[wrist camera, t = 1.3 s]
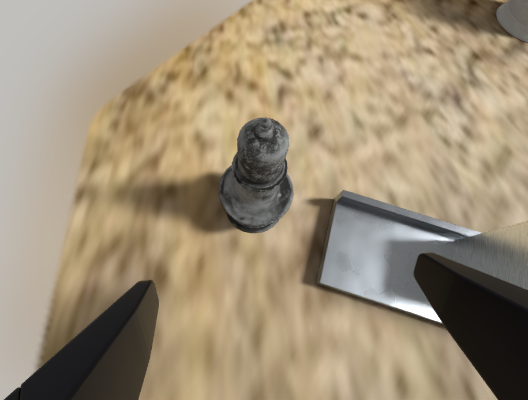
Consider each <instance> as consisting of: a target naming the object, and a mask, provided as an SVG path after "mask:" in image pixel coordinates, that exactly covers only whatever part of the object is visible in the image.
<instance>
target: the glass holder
mask: <svg viewBox="0 0 528 400" xmlns="http://www.w3.org/2000/svg"><path fill="white" fill-rule="evenodd" d="M496 17H497V20H498V22H499V23H500V25H501V26H502V27H503V28H504V29H505V30H506V31H507V32H508V33H510V34H511V35H512V36H514V37H516V38H518V39H520V40H522V41H524V42H527V43H528V0H509V1H508V2H506V3H504V4H502V5H501V6H500V7H499V8H498V9H497V12H496Z"/></svg>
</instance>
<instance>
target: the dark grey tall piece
mask: <svg viewBox="0 0 528 400" xmlns="http://www.w3.org/2000/svg"><path fill="white" fill-rule="evenodd" d="M237 146H238V152H237V153H236V155H235V156H234V159H233V162H232V165H231V166H230V167H229V168H228V169H227V170H226V171H225V173H224V174H223V176H222V178H221V181H220V184H219V197H220V200H221V204H222V206H223V207H224V209H225V210H226V213H227V216H228V218H229V219H230V221H231V223H232V224H234V225H235V226H236V227H237V228H239V229H240V230H242V231H245V232H249V233H261V232H264V231H267V230H269V229H270V228H272V227H273V226H274V225H275V224H276V223H277V222H278V221H279V219H280V218H281V217H282V216H283V215H284V214H285V213H286V212H287V211H288V209H289V207H290V205H291V203H292V199H293V184H292V182H291V179H290V177H289V175H288V174H287V161H286V159H285V157H286V154H287V151H288V147H289V137H288V133H287V131H286V129H285V128H284V127H283V126H282V125H281V124H280V123H279V122H277V121H275V120H273V119H270V118H257V119H254V120H251V121H249V122H248V123H246V124H245V125H244V126H243V127H242V129H241V130H240V133H239V136H238V139H237Z"/></svg>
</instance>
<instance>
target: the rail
mask: <svg viewBox="0 0 528 400" xmlns="http://www.w3.org/2000/svg"><path fill="white" fill-rule="evenodd" d="M428 252H432V253H435V254H438V255H440V256H443V257H445V258H448V259H451V260H453V261H456V262H458V263H461V264H463V265H466V266H468V267H471V268H473V269H476V270H479V271H481V272H484V273H486V274H489V275H491V276H494V277H496V278H499V279H501V280H504V281H506V282H509V283H512V284H514V285H517V286H519V287H522V288H524V289H527V290H528V221H526V222H522V223H518V224H514V225H511V226H507V227H503V228H499V229H496V230H492V231H488V232H485V233H480V232H477V231H473V230H470V229H467V228H464V227H461V226H457V225H454V224H451V223H448V222H445V221H441V220H438V219H435V218H432V217H429V216H425V215H422V214H419V213H416V212H413V211H409V210H406V209H403V208H400V207H396V206H393V205H390V204H387V203H384V202H380V201H377V200H374V199H371V198H368V197H364V196H361V195H358V194H355V193H352V192H348V191H345V190H343V191H342V192H341V193H340V194H338V195H337V196H336V198H335V199H334V202H333V206H332V211H331V216H330V220H329V225H328V230H327V234H326V239H325V244H324V248H323V253H322V258H321V262H320V267H319V272H318V276H317V281H316V284H319V285H322V286H325V287H328V288H331V289H334V290H337V291H340V292H344V293H347V294H350V295H353V296H356V297H359V298H362V299H365V300H368V301H371V302H374V303H377V304H381V305H384V306H387V307H390V308H393V309H396V310H399V311H402V312H405V313H408V314H411V315H414V316H417V317H421V318H424V319H427V320H430V321H433V322H436V323H439V324H442V322H441V321H440V319H439V318H438V316H437V315H436V313H435V311H434V310H433V308H432V306H431V305H430V303H429V301H428V300H427V298H426V296H425V295H424V293H423V291H422V290H421V288H420V287H419V285H418V283H417V282H416V280H415V278H414V274H413V271H414V268H415V264H416V261H417V257H418V255H419V254H421V253H428ZM442 325H443V324H442Z"/></svg>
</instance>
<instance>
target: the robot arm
mask: <svg viewBox="0 0 528 400" xmlns="http://www.w3.org/2000/svg"><path fill="white" fill-rule="evenodd" d="M413 274H414V278H415V280H416V282H417V283H418V285H419V287H420V288H421V290H422V291H423V293H424V295H425V296H426V298H427V300H428V301H429V303H430V305H431V306H432V308H433V310H434V311H435V313H436V315H437V316H438V318H439V319H440V321H441V322H442V324H443V325H444V326H445V328H446V329H447V330H448V332H449V333H450V335H451V336H452V337H453V339H454V340H455V341H456V343H457V344H458V346H459V347H460V348H461V350H462V351H463V352H464V354H465V355H466V357H467V358H468V359H469V361H470V362H471V363H472V365H473V366H474V367H475V369H476V370H477V372H478V373H479V374H480V376H481V377H482V378H483V380H484V381H485V383H486V384H487V385H488V387H489V388H490V389H491V391H492V392H493V394H494V395H495V396H496V398H497V399H498V400H528V290H527V289H524V288H522V287H519V286H517V285H514V284H512V283H509V282H506V281H504V280H501V279H499V278H496V277H494V276H491V275H489V274H486V273H484V272H481V271H479V270H476V269H473V268H471V267H468V266H466V265H463V264H461V263H458V262H456V261H453V260H451V259H448V258H445V257H443V256H440V255H438V254H435V253H432V252H428V253H421V254H419V255H418V257H417V261H416V264H415V268H414V271H413ZM158 307H159V300H158V296H157V292H156V287H155V284H154V282H153V281H152V280H146V281H139V282H138V283H136V284H135V285H134V286H133V287H132V288H131V289H129V290H128V291H127V292H126V293H125V294H124V295H123V296H121V297H120V298H119V299H118V300H117V301H116V302H115V303H113V304H112V305H111V306H110V307H109V308H108V309H107V310H105V311H104V312H103V313H102V314H101V315H100V316H99V317H98V318H96V319H95V320H94V321H93V322H92V323H91V324H90V325H88V326H87V327H86V328H85V329H84V330H83V331H82V332H80V333H79V334H78V335H77V336H76V337H75V338H74V339H72V340H71V341H70V342H69V343H68V344H67V345H66V346H65V347H63V348H62V349H61V350H60V351H59V352H58V353H57V354H55V355H54V356H53V357H52V358H51V359H50V360H49V361H47V362H46V363H45V364H44V365H43V366H42V367H41V368H39V369H38V370H37V371H36V372H35V373H34V374H33V375H32V376H30V377H29V378H28V379H27V380H26V381H25V382H24V383H22V385H21V388H17V389H15V390H14V391H13V392H12V393H11V394H10V395H9V396H8V397H6V398H5V399H4V400H138V399H139V395H140V392H141V388H142V385H143V381H144V377H145V374H146V370H147V367H148V363H149V359H150V354H151V349H152V343H153V337H154V331H155V325H156V319H157V313H158Z"/></svg>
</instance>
